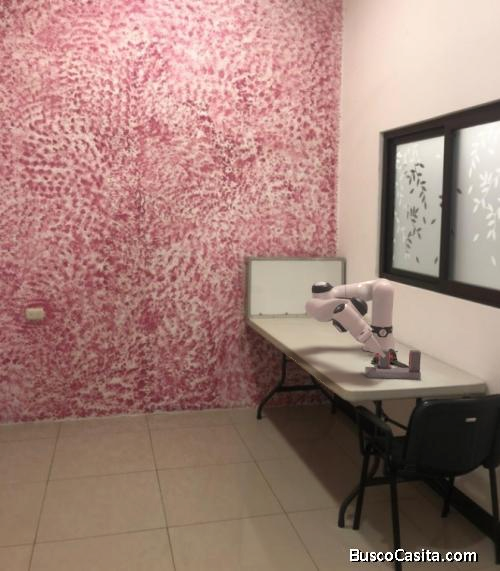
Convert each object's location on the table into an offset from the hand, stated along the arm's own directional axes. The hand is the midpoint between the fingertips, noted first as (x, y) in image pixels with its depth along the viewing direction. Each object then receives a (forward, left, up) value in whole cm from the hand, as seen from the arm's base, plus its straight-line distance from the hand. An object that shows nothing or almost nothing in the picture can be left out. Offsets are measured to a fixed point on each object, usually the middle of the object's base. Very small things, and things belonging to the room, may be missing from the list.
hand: (383, 354), depth 276 cm
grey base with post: (0, +5, -10) cm, 11 cm away
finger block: (0, 0, -7) cm, 7 cm away
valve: (-22, +6, -11) cm, 25 cm away
